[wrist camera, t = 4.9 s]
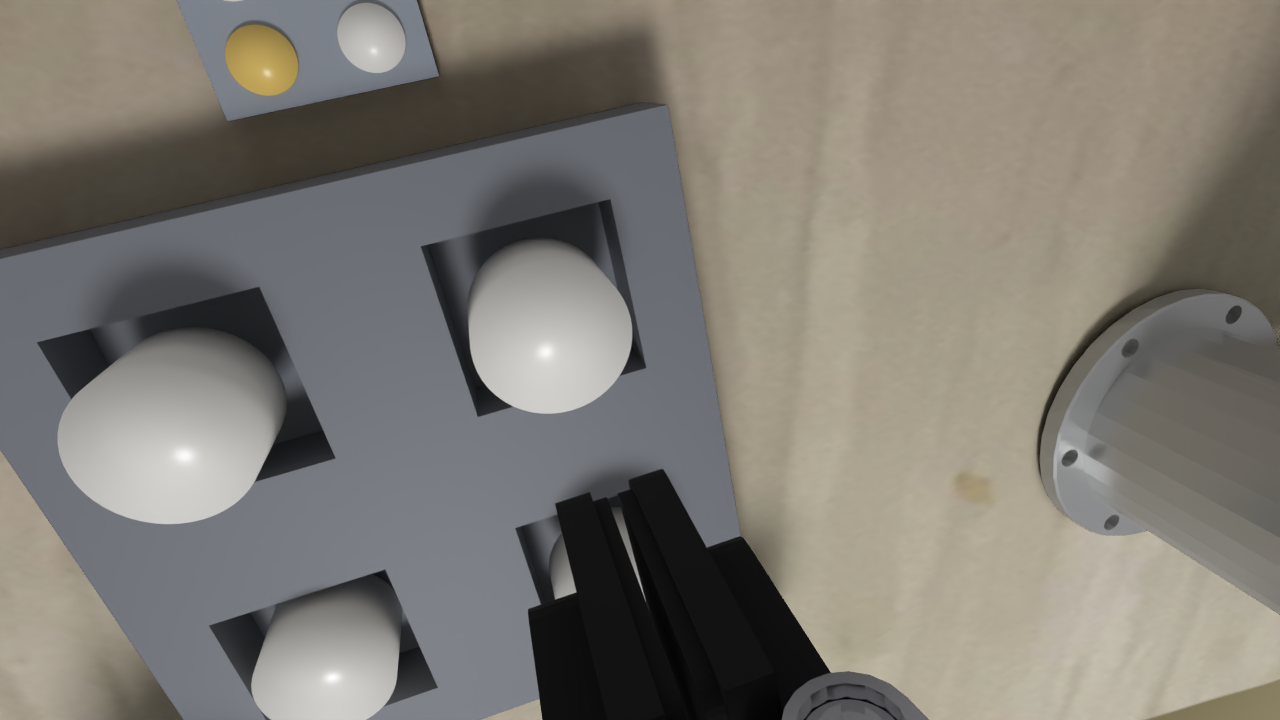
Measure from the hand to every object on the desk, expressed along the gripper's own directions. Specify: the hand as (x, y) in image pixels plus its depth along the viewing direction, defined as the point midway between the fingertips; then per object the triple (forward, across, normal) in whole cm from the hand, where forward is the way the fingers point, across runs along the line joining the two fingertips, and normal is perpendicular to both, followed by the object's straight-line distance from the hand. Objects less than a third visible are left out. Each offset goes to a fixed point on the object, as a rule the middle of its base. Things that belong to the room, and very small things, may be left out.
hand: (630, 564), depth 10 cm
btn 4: (+14, +10, +10) cm, 20 cm away
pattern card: (+15, +4, -10) cm, 18 cm away
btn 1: (+12, 0, 0) cm, 12 cm away
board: (+15, +5, +5) cm, 16 cm away
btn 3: (+12, +10, 0) cm, 16 cm away
